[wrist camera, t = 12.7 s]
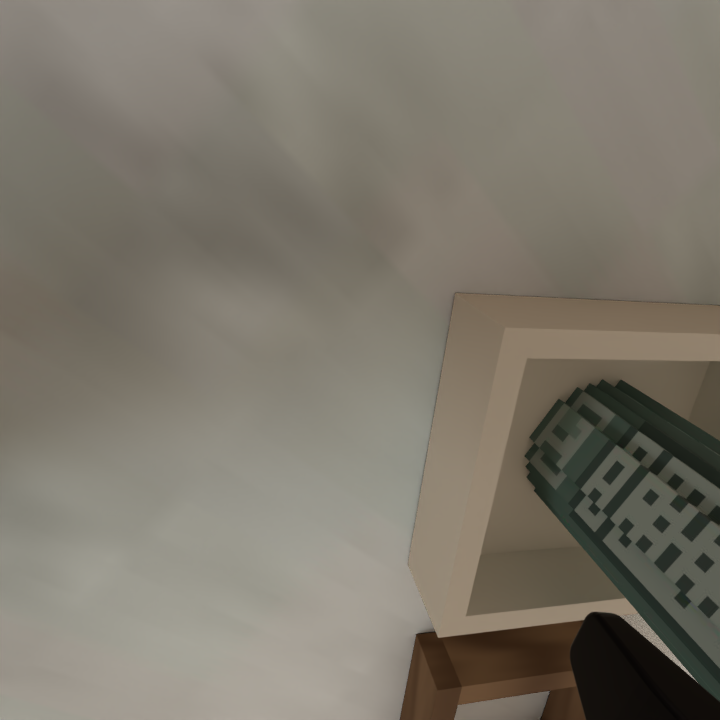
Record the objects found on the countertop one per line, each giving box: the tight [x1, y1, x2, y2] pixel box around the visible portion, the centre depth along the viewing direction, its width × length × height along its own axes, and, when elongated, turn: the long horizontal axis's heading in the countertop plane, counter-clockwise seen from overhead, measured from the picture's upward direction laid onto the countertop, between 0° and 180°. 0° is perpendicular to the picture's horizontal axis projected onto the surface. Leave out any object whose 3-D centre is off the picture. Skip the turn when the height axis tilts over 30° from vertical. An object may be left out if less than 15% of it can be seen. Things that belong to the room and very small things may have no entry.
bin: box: [408, 293, 720, 638], centre depth 22 cm, size 13×13×4 cm
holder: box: [400, 620, 586, 720], centre depth 28 cm, size 10×10×3 cm
